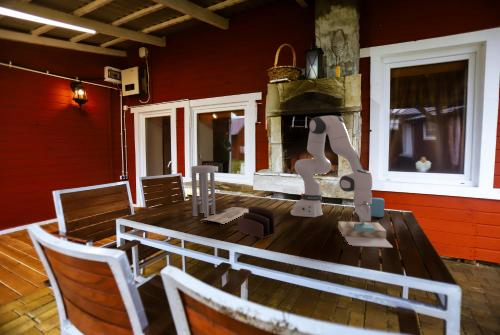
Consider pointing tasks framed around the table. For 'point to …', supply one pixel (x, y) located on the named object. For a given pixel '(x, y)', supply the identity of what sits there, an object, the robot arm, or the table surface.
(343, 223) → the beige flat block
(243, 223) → the letter holder
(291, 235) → the table surface
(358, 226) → the teal flat block
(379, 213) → the data package
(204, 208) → the stool
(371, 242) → the mat
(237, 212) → the grey flat ribbed slab
